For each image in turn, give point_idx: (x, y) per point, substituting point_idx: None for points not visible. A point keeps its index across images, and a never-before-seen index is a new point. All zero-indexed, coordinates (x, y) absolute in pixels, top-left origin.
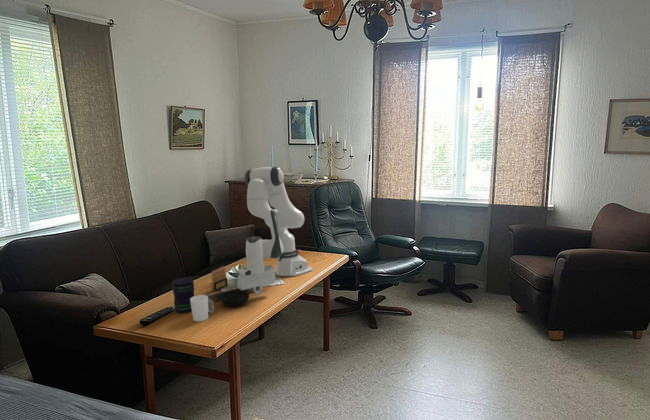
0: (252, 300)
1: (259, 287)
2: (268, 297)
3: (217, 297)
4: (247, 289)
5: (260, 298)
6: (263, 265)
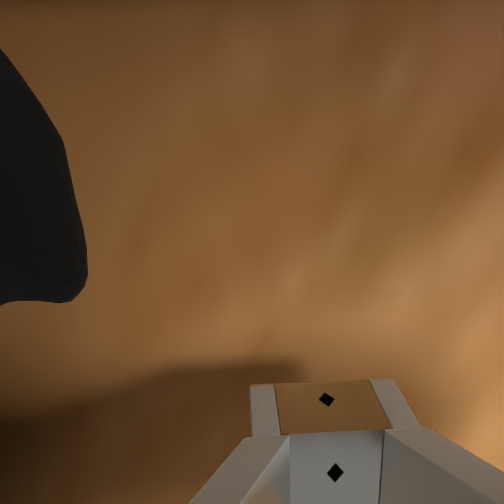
0: (141, 455)
1: (464, 499)
2: None
3: None
4: (72, 275)
5: None
6: None
